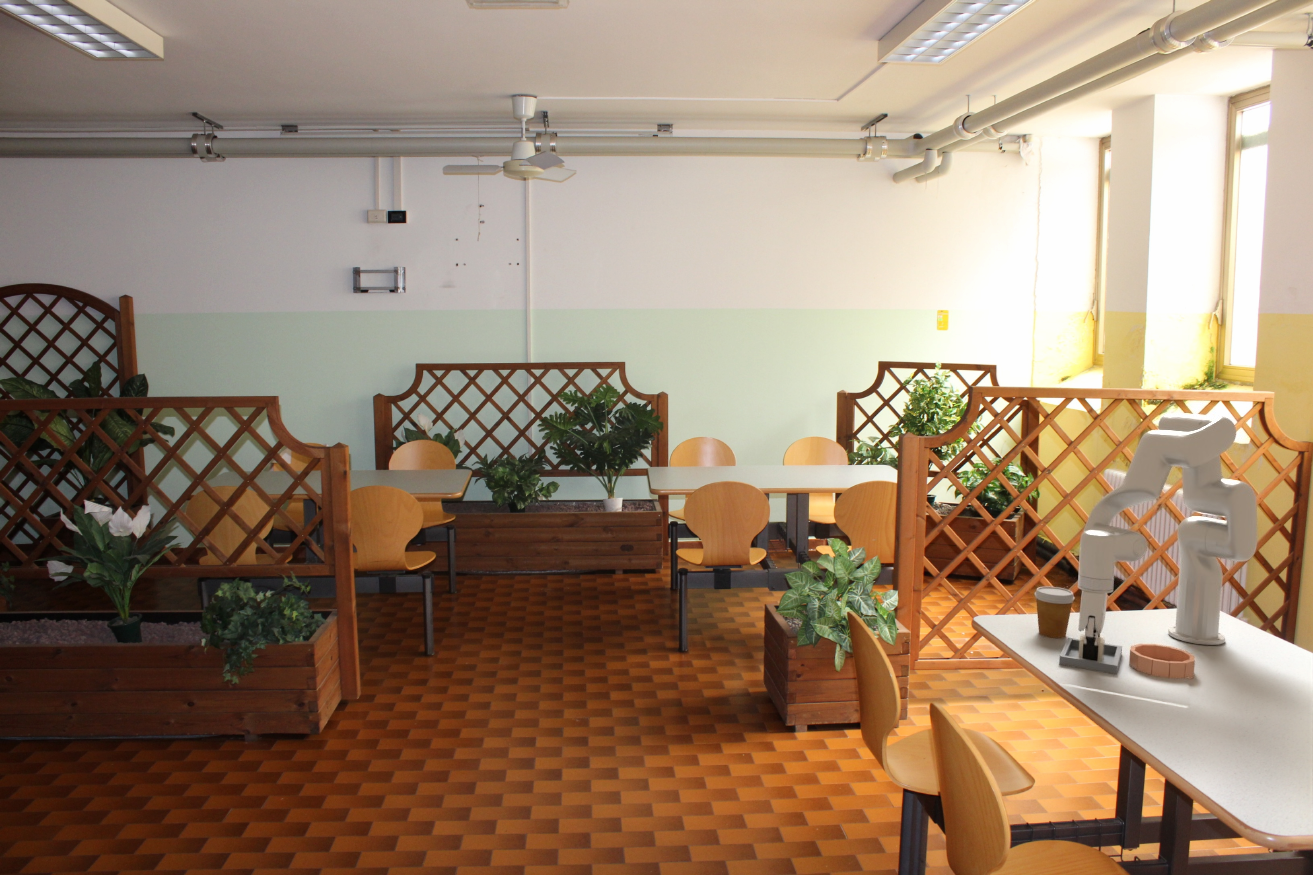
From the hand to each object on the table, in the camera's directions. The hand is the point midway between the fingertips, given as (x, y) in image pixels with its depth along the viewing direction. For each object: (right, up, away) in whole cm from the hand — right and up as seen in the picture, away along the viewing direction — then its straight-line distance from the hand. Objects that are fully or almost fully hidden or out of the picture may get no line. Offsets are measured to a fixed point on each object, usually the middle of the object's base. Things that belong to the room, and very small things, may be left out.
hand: (1091, 656), depth 212 cm
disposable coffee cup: (-1, +1, +19) cm, 19 cm away
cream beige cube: (0, -1, 0) cm, 1 cm away
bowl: (+14, -2, -5) cm, 15 cm away
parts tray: (0, -1, 0) cm, 1 cm away
